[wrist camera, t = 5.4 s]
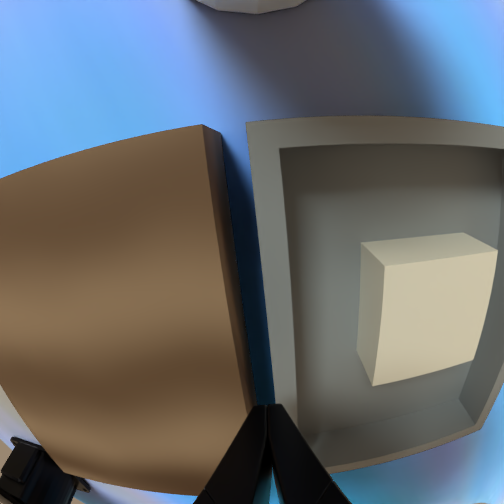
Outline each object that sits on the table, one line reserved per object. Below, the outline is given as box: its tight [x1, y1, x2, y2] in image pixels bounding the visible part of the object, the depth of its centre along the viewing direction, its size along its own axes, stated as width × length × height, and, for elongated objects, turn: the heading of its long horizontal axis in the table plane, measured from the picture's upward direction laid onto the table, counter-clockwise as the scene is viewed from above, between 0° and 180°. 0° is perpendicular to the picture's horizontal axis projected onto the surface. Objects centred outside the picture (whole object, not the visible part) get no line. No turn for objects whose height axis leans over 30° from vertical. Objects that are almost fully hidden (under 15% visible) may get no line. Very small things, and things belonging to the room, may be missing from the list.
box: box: [246, 116, 504, 474], centre depth 11 cm, size 16×12×3 cm
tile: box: [356, 232, 498, 386], centre depth 11 cm, size 5×5×2 cm
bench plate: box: [0, 124, 258, 496], centre depth 12 cm, size 16×12×4 cm
